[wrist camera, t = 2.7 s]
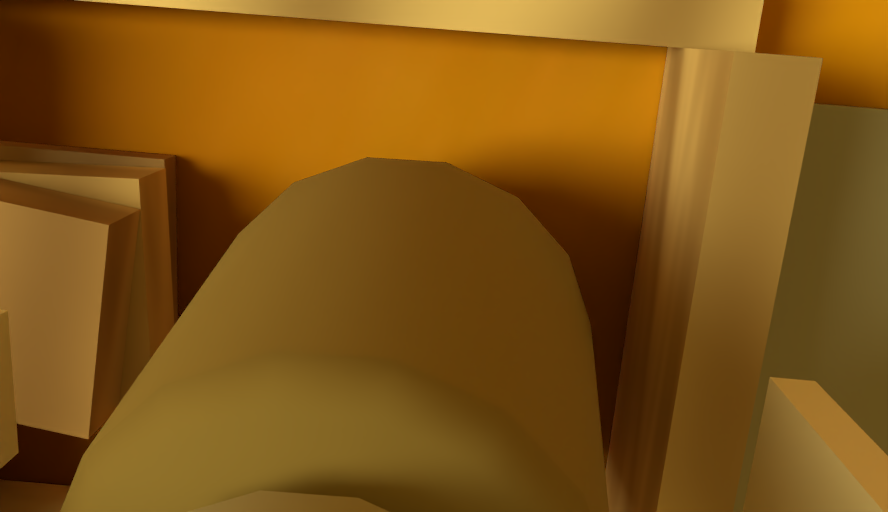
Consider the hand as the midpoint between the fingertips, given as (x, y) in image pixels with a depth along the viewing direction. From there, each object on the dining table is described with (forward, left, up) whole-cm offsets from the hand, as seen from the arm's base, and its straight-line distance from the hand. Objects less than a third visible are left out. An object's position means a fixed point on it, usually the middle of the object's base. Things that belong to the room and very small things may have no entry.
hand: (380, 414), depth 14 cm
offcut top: (-8, 0, -5) cm, 10 cm away
